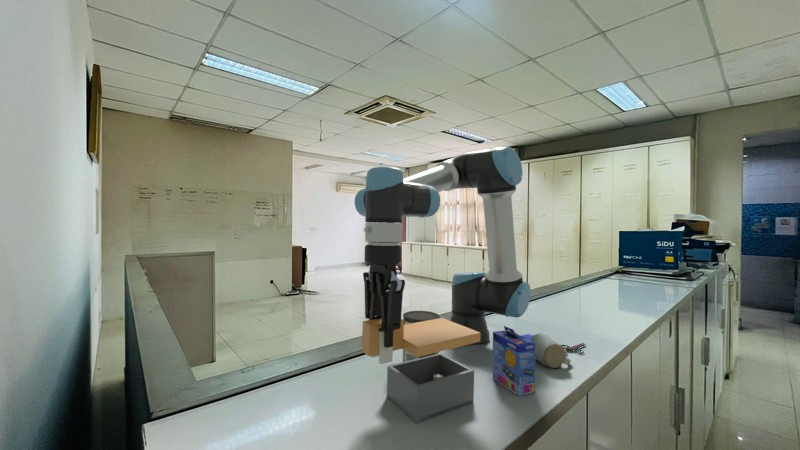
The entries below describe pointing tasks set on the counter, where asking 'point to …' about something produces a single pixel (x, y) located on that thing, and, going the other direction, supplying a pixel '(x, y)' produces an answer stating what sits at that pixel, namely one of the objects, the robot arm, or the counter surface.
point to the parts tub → (429, 386)
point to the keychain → (574, 348)
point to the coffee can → (413, 318)
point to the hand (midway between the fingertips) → (381, 358)
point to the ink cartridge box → (514, 361)
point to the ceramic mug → (549, 351)
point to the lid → (420, 336)
